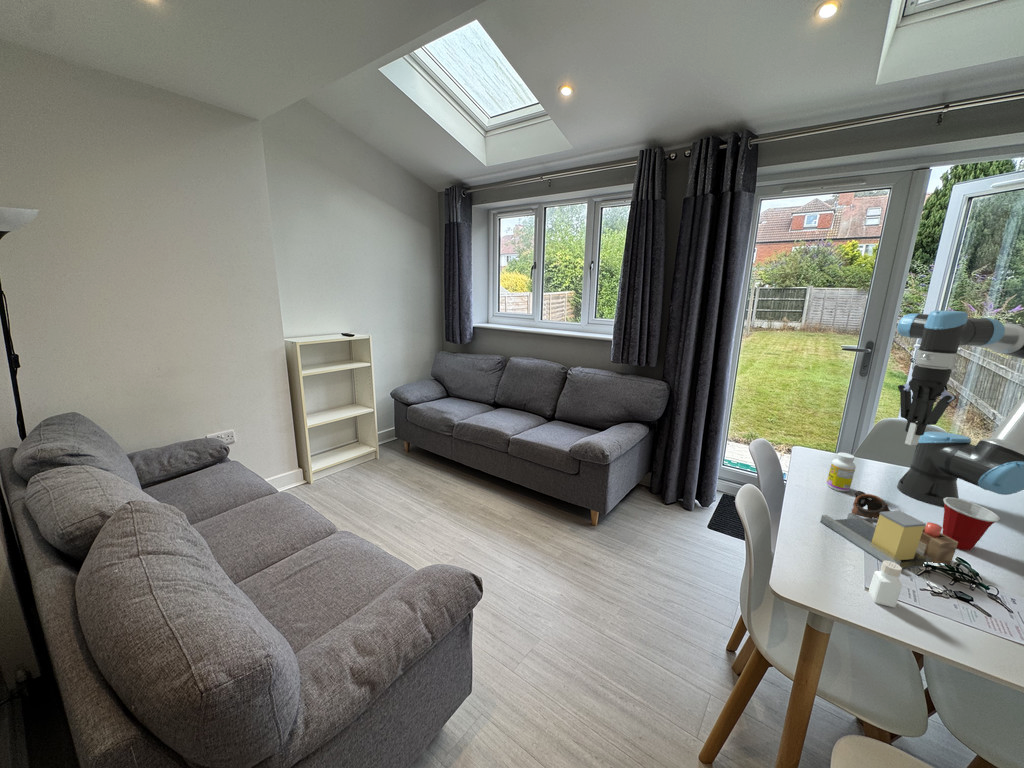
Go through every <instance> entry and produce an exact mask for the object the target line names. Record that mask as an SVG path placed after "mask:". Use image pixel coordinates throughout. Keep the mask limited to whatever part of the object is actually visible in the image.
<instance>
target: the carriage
mask: <svg viewBox="0 0 1024 768" xmlns="http://www.w3.org/2000/svg"><path fill="white" fill-rule="evenodd" d="M879 514H880V515H879V518H877V522H876V525H875V526H876V529H875V532H874V535H873V539H872V542H871V543H873V544H874V545H876V546H878V547H879V548H881V549H883V550H884V551H886V552H887V553H889V554H891V555H892V556H894V557H895V558H897V559H899V560H907V559H914V556H915V553H916V550H917V547H918V544H919V541H920V538H921V535H922V532H923V529H924V526H925V525H927V523H925V522H923V520H922V521H921V520H920V519H918V518H915V517H914V516H912V515H911V514H910V515H909V514H908V513H906V512H904V511H902V510H890V511H886V512H880V513H879Z"/></svg>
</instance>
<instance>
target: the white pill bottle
mask: <svg viewBox="0 0 1024 768" xmlns="http://www.w3.org/2000/svg"><path fill="white" fill-rule="evenodd" d="M902 570H903V569H902V568H901V567H900V566H899V565H898V564H896V563H894V562H891V561H883V562H881V566H880V570H875V571H874V572H873V575H872V579H871V582H870V585H869V589H868V593H869V595H870V597H871V599H872V600H873V602H874V603H875V604H878V605H882V606H886V607H889V608H896V606H897V604H898V600H899V597H900V595H901V592H902V588H903V583H902V582H901V581H900V577H901V573H902Z"/></svg>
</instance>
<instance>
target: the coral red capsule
mask: <svg viewBox="0 0 1024 768" xmlns="http://www.w3.org/2000/svg"><path fill="white" fill-rule="evenodd" d="M942 531H943V526H941V525H940V524H937V523H934V522H930V521H928V522H926V528H925V531H924V533H926V534H928V535H930V536H931V537H933V538H939V535H940V533H942Z"/></svg>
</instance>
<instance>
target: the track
mask: <svg viewBox="0 0 1024 768" xmlns="http://www.w3.org/2000/svg"><path fill="white" fill-rule="evenodd" d="M820 523H821V524H823V525H824V526H825V527H826V528H828V529H830V530H832V531H833V532H834V533H836V534H838V535H839V536H841V537H843V538H844V539H846V540H847V541H849V542H850V543H851V544H852V545H855V546H857V547H858V548H859V549H861V550H862V551H864V552H865V553H867V554H868V555H870V556H871V557H873V558H875V559H876V560H878V561H880V562H881V563H883V561H891V562H894V563H896V564H898V565H899V566H900V567H901V568H902V570H903V569H912V568H913V569H914V568H923V564H924V562H930V561H931V557H929V556H927V555H925V554H924V553H922V552H920V551H918V550H916V553H915V556H914V559H907V560H899V559H897V558H895V557H894V556H892V555H891V554H889V553H887V552H886V551H884V550H883V549H881V548H879V547H878V546H876V545H874V544H873V543H871V542H872V539H873V535H874V532H875V529H876V525H875V524H874V523H872V522H869V521H867V520H866V519H865V518H864V517H862V516H858V515H856V514H854V513H852V512H849V513H848V514H847V518H842V519H841V518H840V519H834V518H833V517H830V516H829V515H828V514H822V515H821V518H820Z"/></svg>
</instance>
